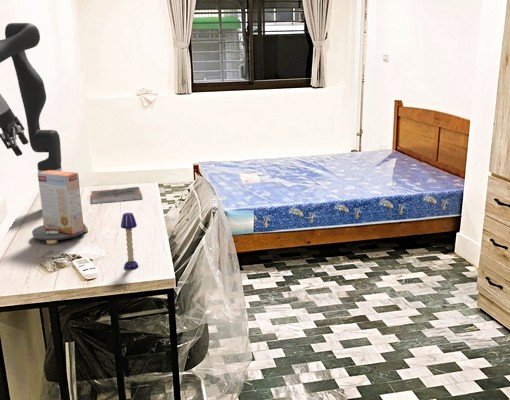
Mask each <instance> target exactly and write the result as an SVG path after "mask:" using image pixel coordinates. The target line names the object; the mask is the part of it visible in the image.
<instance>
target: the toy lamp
mask: <svg viewBox="0 0 510 400" xmlns="http://www.w3.org/2000/svg"><path fill="white" fill-rule="evenodd" d="M120 228H121V229H124V230H125V232H126V233H125V236H126V239H125V240H126V247H127V248H126V250H127V254H126V255H127V261H126V262H125V263H124V266H123V268H124V269H125V270H134V269H135V270H136V269H137V268H138V267H139V264H138V262H137V261H136V260H135V258H134V246H133V245H134V243H133V233H132V231H133V229H134V228H137V221H136V218H135V215H134V214H133V213H132V212H125V213H122V218H121V222H120Z"/></svg>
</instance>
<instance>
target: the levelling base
mask: <svg viewBox="0 0 510 400" xmlns="http://www.w3.org/2000/svg"><path fill="white" fill-rule="evenodd" d="M83 226H84V230H83V231H81V232H78V233H75V234H72V235H71V234H66V233H61V232H59V231H49V230H45V229H44V224H43V225H40V226H37V227H35V228H34V229H32V231H31V232H32V233H31V234H32V237H33V238H34V239H36V240H41V241H46V245H47V246H56V245H58V244H59V242H58V240H59V241H61V240H65V239H66V240H67V239H71V238H74V237H77V236H80V235H84V234H87V233H88V232H89V229H88V228H89V227H88V226H87V225H86V224H85V223H83Z"/></svg>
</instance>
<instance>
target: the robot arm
mask: <svg viewBox="0 0 510 400" xmlns="http://www.w3.org/2000/svg"><path fill="white" fill-rule="evenodd" d="M40 33H41V32H40V30H39V29H38V27H37V26H36V25H35V24H33V23H29V22H13V23H12V22H11V23H8V24H6V26H5V29H4V36H5V38H4V39H0V64H1V63H2V62H4V61H5V60H8V59H9V58H11V59H12V62H13V63H12V64H13V67H14V69H15V74H16V78H17V83H18V88H19V92H20V96H21V100H22V103H23V105H22V106H23V109H24V113H25V114H24V115H25V118H26V124H27V126H26V127H27V133H28V139H29V140H28V139H27V137H26V135H25V132H24V131H25V127H24V125H23V124H22V122H21V120H20V119H19V118H18V116H17V115H15V114H14V112H13V111H12V109H11V108H10V106H9V104H8V103H7V101H6V99H5V98H4V97H3V95H2V94H1V93H0V129H1V131H2V133H0V140H1V141H2V143H3V144H4V146H5V148H6V149H7V150H10V149H11V150H12V151H13V153H14V154H15V156H17V157H19V156H23V152H22V150H21V149H20V147H19V145H18V143H17V139H19V141H20V143H21V144H22V145H23V146H25V145H28V144H30V148H31V149H32V151H33V152H34V153H48V157H47V158H45V159H42V160H40V161H38V163H37V171H38V172H37V174H38V173H39V172H43V171H47V170H54V171H63V170H62V153H61V152H62V151H61V147H62V146H61V137H60V134H59V132H58V131H57V130H55V129H41V127H40V118H41V117H40V116H41V113H42V111H43V109H44V106H45V104H46V101H47V93H46V87H45V84H44V83H45V82H44V81H43V78H42V77H41V76H40V74H39V73H38V71H37V70H36V69H35V68H34V66H33V65H32V64H31V63H30V61H29V59H28V56H27V54H26V51H27V50H30V49H33V48H36V47H37V46H38V45H39V43H40V40H41V35H40ZM17 137H18V138H17Z"/></svg>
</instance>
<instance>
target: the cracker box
mask: <svg viewBox="0 0 510 400" xmlns="http://www.w3.org/2000/svg"><path fill="white" fill-rule="evenodd" d="M37 180H38V187H39V196H40V197H39V198H40V204H41V212H42V220H43V225H44V229H45V230H49V231H59V232H61V233H66V234H71V235H72V234H75V233H78V232H81V231H83V230H84V226H83V224H84V218H83V209H82V208H83V207H82V198H81V190H80V179H79V172H71V171H63V170H62V171H54V170H47V171H43V172H39V173H38V172H37Z"/></svg>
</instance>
